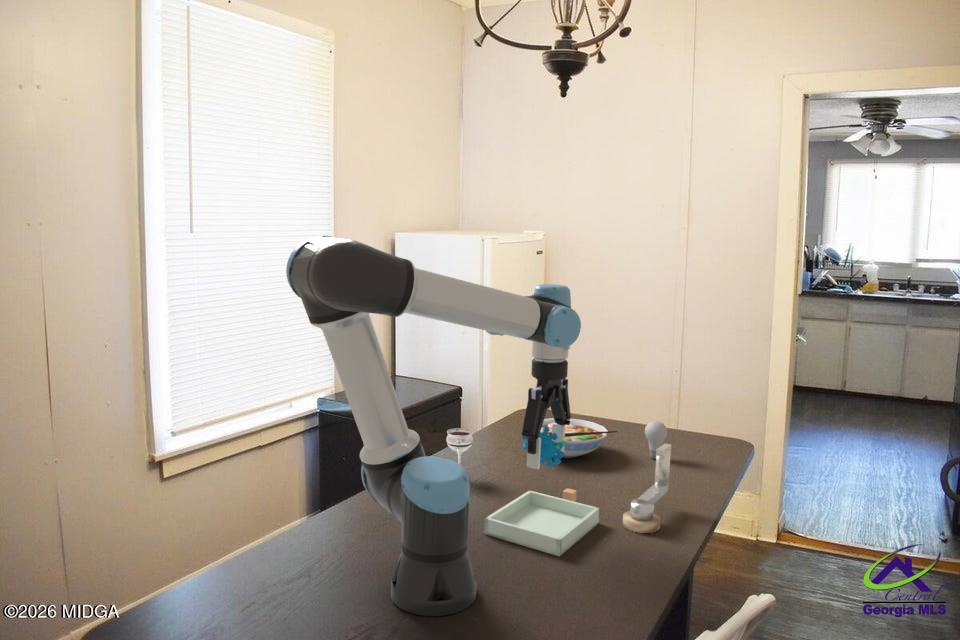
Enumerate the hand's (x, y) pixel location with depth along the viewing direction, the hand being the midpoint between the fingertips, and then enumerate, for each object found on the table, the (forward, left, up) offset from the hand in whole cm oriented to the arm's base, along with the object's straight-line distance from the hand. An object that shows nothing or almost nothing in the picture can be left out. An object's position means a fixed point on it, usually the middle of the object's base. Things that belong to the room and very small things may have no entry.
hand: (545, 460), depth 157 cm
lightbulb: (+60, -4, -16) cm, 62 cm away
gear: (0, 0, -1) cm, 1 cm away
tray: (0, 0, -15) cm, 15 cm away
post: (+14, +1, -15) cm, 21 cm away
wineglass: (+15, +32, -16) cm, 39 cm away
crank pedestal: (+14, -17, -15) cm, 27 cm away
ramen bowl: (+49, +18, -16) cm, 54 cm away
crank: (+21, -17, -13) cm, 30 cm away
